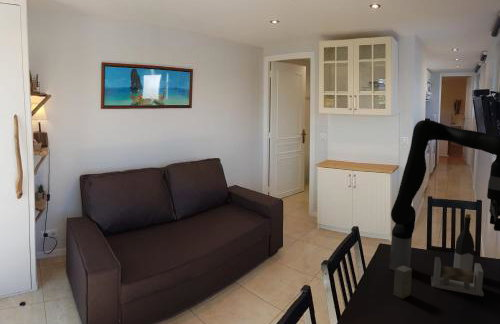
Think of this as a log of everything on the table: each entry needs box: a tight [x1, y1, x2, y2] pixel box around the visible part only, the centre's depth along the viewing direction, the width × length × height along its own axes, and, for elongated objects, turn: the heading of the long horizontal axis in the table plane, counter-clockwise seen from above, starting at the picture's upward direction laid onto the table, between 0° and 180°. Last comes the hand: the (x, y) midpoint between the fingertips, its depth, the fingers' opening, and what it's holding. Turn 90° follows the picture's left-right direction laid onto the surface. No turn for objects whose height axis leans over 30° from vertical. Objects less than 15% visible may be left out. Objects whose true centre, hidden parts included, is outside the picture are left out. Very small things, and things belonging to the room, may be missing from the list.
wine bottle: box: [453, 213, 475, 271], centre depth 172 cm, size 8×8×30 cm
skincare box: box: [393, 265, 413, 299], centre depth 154 cm, size 6×4×12 cm
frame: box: [430, 256, 485, 297], centre depth 161 cm, size 20×9×11 cm, turn 65°
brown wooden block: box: [440, 265, 474, 284], centre depth 161 cm, size 12×5×4 cm, turn 66°
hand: (494, 227), depth 142 cm, fingers open, 8 cm apart
